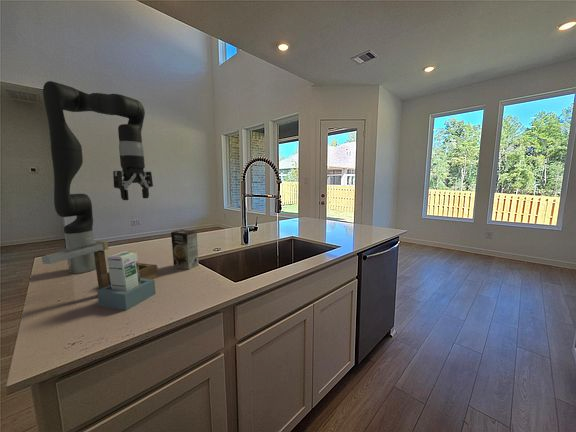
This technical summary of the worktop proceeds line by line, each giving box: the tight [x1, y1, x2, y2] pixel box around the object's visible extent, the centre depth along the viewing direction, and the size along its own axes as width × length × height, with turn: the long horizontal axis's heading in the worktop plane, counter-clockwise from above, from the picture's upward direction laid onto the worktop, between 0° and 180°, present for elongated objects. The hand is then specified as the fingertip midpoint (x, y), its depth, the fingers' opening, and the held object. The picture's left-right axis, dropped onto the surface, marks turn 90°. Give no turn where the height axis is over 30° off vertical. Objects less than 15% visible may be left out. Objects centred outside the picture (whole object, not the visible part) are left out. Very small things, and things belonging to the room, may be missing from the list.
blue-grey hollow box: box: [96, 278, 157, 311], centre depth 79 cm, size 11×11×5 cm
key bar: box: [41, 240, 109, 265], centre depth 74 cm, size 4×16×3 cm, turn 164°
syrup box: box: [106, 250, 141, 292], centre depth 78 cm, size 6×6×14 cm
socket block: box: [94, 250, 159, 290], centre depth 89 cm, size 12×18×15 cm, turn 164°
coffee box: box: [170, 229, 199, 270], centre depth 108 cm, size 9×6×16 cm
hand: (135, 199), depth 91 cm, fingers open, 8 cm apart
